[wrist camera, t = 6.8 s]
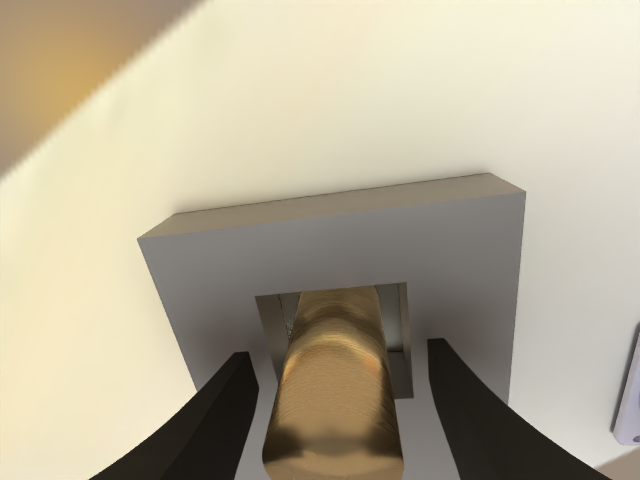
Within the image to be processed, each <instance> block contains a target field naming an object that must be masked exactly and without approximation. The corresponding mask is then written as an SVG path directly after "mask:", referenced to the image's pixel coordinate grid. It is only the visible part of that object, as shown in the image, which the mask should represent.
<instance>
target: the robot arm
mask: <svg viewBox="0 0 640 480" xmlns="http://www.w3.org/2000/svg"><path fill="white" fill-rule="evenodd" d="M427 348H428V375H429V383H430V387H431V391H432V396H433V400H434V404H435V407H436V410H437V413H438V416H439V419H440V422H441V425H442V427H443V430H444V433H445V436H446V439H447V442H448V444H449V447H450V450H451V453H452V456H453V459H454V461H455V464H456V467H457V470H458V474H459V477H460V480H612V479H610V478H608V477H606V476H605V475H603V474H601V473H600V472H598V471H596V470H595V469H593V468H591V467H590V466H588V465H587V464H585V463H584V462H582V461H581V460H579V459H578V458H576V457H574V456H573V455H571V454H570V453H568V452H567V451H566V450H564V449H563V448H561V447H560V446H559V445H557V444H556V443H554V442H553V441H552V440H550V439H549V438H547V437H546V436H545V435H543V434H542V433H540V432H539V431H538V430H537V429H535V428H534V427H533V426H532V425H530V424H529V423H528V422H526V421H525V420H524V419H523V418H522V417H520V416H519V415H518V414H517V413H516V412H514V411H513V410H512V409H511V408H510V407H509V406H508V405H506V404H505V403H504V402H503V401H502V400H501V399H500V398H499V397H498V396H497V395H496V394H495V393H494V392H493V391H491V390H490V389H489V388H488V387H487V386H486V385H485V384H484V383H483V382H482V381H481V379H480V378H479V377H478V376H477V375H476V374H475V373H474V372H473V371H472V370H471V369H470V368H469V367H468V366H467V364H466V363H465V362H464V361H463V360H462V359H461V358H460V356H459V355H458V354H457V353H456V352H455V350H454V349H453V348H452V347H451V345H450V344H449V343H448V341H447V340H446V339H444V338H433V339H427ZM258 394H259V385H258V381H257V378H256V375H255V371H254V368H253V365H252V361H251V358H250V355H249V351H245V352H234V353H233V354H232V355H231V357H230V358H229V359H228V360H227V361H226V362H225V363H224V364H223V365H222V366H221V368H220V369H219V370H218V371H217V372H216V373H215V374H214V375H213V376H212V377H211V379H210V380H209V381H208V382H207V383H206V384H205V385H204V386H203V387H202V388H201V389H200V390H199V391H198V392H197V393H196V394H195V395H194V396H193V397H192V398H191V399H190V400H189V401H188V402H187V403H186V404H185V405H184V406H183V407H182V408H181V409H180V410H179V411H178V412H177V413H176V414H175V415H174V416H173V417H172V418H171V419H170V420H168V421H167V422H166V423H165V424H164V425H163V426H161V427H160V428H159V429H158V430H157V431H156V432H154V433H153V434H152V435H151V436H149V437H148V438H147V439H146V440H144V441H143V442H142V443H140V444H139V445H138V446H136V447H135V448H134V449H133V450H131V451H130V452H129V453H127V454H126V455H125V456H123V457H122V458H120V459H119V460H117V461H116V462H115V463H113V464H112V465H110V466H109V467H107V468H106V469H104V470H103V471H101V472H100V473H98V474H97V475H95V476H93V477H92V478H90V479H89V480H234V479H235V475H236V472H237V468H238V465H239V462H240V459H241V456H242V453H243V450H244V446H245V443H246V440H247V437H248V434H249V431H250V428H251V424H252V421H253V418H254V414H255V410H256V405H257V400H258ZM613 437H614V438H615V439H616V440H617V442H618V443H620V444H622V445H640V333H639V337H638V341H637V345H636V348H635V352H634V356H633V360H632V363H631V367H630V371H629V375H628V379H627V382H626V386H625V390H624V394H623V398H622V401H621V405H620V409H619V413H618V417H617V420H616V424H615V428H614V432H613Z"/></svg>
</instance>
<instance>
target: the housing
mask: <svg viewBox="0 0 640 480" xmlns="http://www.w3.org/2000/svg"><path fill="white" fill-rule="evenodd" d="M525 199H526V191H524V190H522V189H520V188H518V187H516V186H514V185H512V184H510V183H509V182H507V181H505V180H503V179H501V178H499V177H497V176H495V175H493V174H491V173H486V174H478V175H471V176H463V177H455V178H448V179H440V180H432V181H425V182H417V183H409V184H402V185H394V186H386V187H379V188H371V189H363V190H356V191H348V192H340V193H333V194H325V195H317V196H310V197H302V198H294V199H286V200H279V201H271V202H263V203H256V204H248V205H240V206H233V207H225V208H217V209H210V210H202V211H194V212H187V213H179V214H174V215H172V216H171V217H169V218H168V219H166V220H165V221H163V222H162V223H160V224H159V225H157V226H156V227H154V228H153V229H151V230H150V231H148V232H147V233H145V234H143V235H142V236H140V237H139V238H137V241H138V243H139V246H140V248H141V251H142V253H143V256H144V258H145V261H146V264H147V266H148V269H149V271H150V274H151V276H152V279H153V281H154V284H155V286H156V289H157V291H158V294H159V296H160V299H161V301H162V304H163V307H164V309H165V312H166V314H167V317H168V319H169V322H170V324H171V327H172V329H173V332H174V334H175V337H176V339H177V342H178V344H179V347H180V349H181V352H182V355H183V357H184V360H185V362H186V365H187V367H188V370H189V372H190V375H191V377H192V380H193V382H194V385H195V387H196V390H197V392H198V391H199V390H200V389H201V388H202V387H203V386H204V385H205V384H206V383H207V382H208V381H209V380H210V379H211V377H212V376H213V375H214V374H215V373H216V372H217V371H218V370H219V369H220V368H221V366H222V365H223V364H224V363H225V362H226V361H227V360H228V359H229V358H230V357H231V355H232V354H233V353H234V352H245V351H249V355H250V358H251V361H252V365H253V368H254V371H255V375H256V378H257V381H258V385H259V394H258V400H257V405H256V410H255V414H254V418H253V421H252V424H251V428H250V431H249V434H248V437H247V440H246V443H245V446H244V450H243V453H242V456H241V459H240V462H239V465H238V468H237V472H236V475H235V479H234V480H272V479H271V478H270V477H269V475H268V474H267V472H266V470H265V468H264V465H263V461H262V449H263V445H264V441H265V437H266V433H267V429H268V424H269V420H270V416H271V412H272V408H273V404H274V400H275V396H276V392H277V388H278V384H279V380H280V376H281V372H282V368H283V364H284V359H285V355H286V351H287V347H288V343H289V338H288V334H287V330H286V326H285V321H284V317H283V313H282V309H281V304H280V300H279V296H278V294H283V293H294V292H305V291H316V290H327V289H338V288H349V287H360V286H370V285H381V284H392V283H398V284H399V297H400V311H401V325H402V339H403V351H401V352H387V355H388V361H389V368H390V374H391V381H392V387H393V394H394V400H395V407H396V413H397V420H398V426H399V433H400V439H401V446H402V452H403V459H404V471H403V475H402V478H401V480H460V477H459V474H458V470H457V467H456V464H455V461H454V459H453V456H452V453H451V450H450V447H449V444H448V442H447V439H446V436H445V433H444V430H443V427H442V425H441V422H440V419H439V416H438V413H437V410H436V407H435V404H434V400H433V396H432V391H431V387H430V383H429V375H428V348H427V339H433V338H444V339H446V340H447V341H448V343H449V344H450V345H451V347H452V348H453V349H454V350H455V352H456V353H457V354H458V355H459V356H460V358H461V359H462V360H463V361H464V362H465V363H466V364H467V366H468V367H469V368H470V369H471V370H472V371H473V372H474V373H475V374H476V375H477V376H478V377H479V378H480V379H481V381H482V382H483V383H484V384H485V385H486V386H487V387H488V388H489V389H490V390H491V391H493V392H494V393H495V394H496V395H497V396H498V397H499V398H500V399H501V400H502V401H503V402H504V403H505V404H506V405H508V397H509V386H510V374H511V362H512V351H513V339H514V327H515V316H516V304H517V292H518V281H519V269H520V257H521V246H522V234H523V223H524V211H525Z"/></svg>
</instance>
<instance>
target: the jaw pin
mask: <svg viewBox="0 0 640 480" xmlns="http://www.w3.org/2000/svg"><path fill="white" fill-rule="evenodd" d="M262 461H263V465H264V468H265V470H266V472H267V474H268V475H269V477H270V478H271V479H272V480H401V478H402V475H403V471H404V459H403V452H402V446H401V439H400V433H399V426H398V420H397V413H396V407H395V400H394V394H393V387H392V381H391V374H390V368H389V361H388V355H387V348H386V342H385V335H384V329H383V322H382V316H381V309H380V303H379V297H378V293H377V291H376V289H375V287H374V285H370V286H360V287H349V288H338V289H327V290H316V291H305V292H301V294H300V299H299V303H298V307H297V311H296V315H295V319H294V323H293V327H292V331H291V335H290V339H289V343H288V347H287V351H286V355H285V359H284V364H283V368H282V372H281V376H280V380H279V384H278V388H277V392H276V396H275V400H274V404H273V408H272V412H271V416H270V420H269V424H268V429H267V433H266V437H265V441H264V445H263V449H262Z"/></svg>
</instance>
